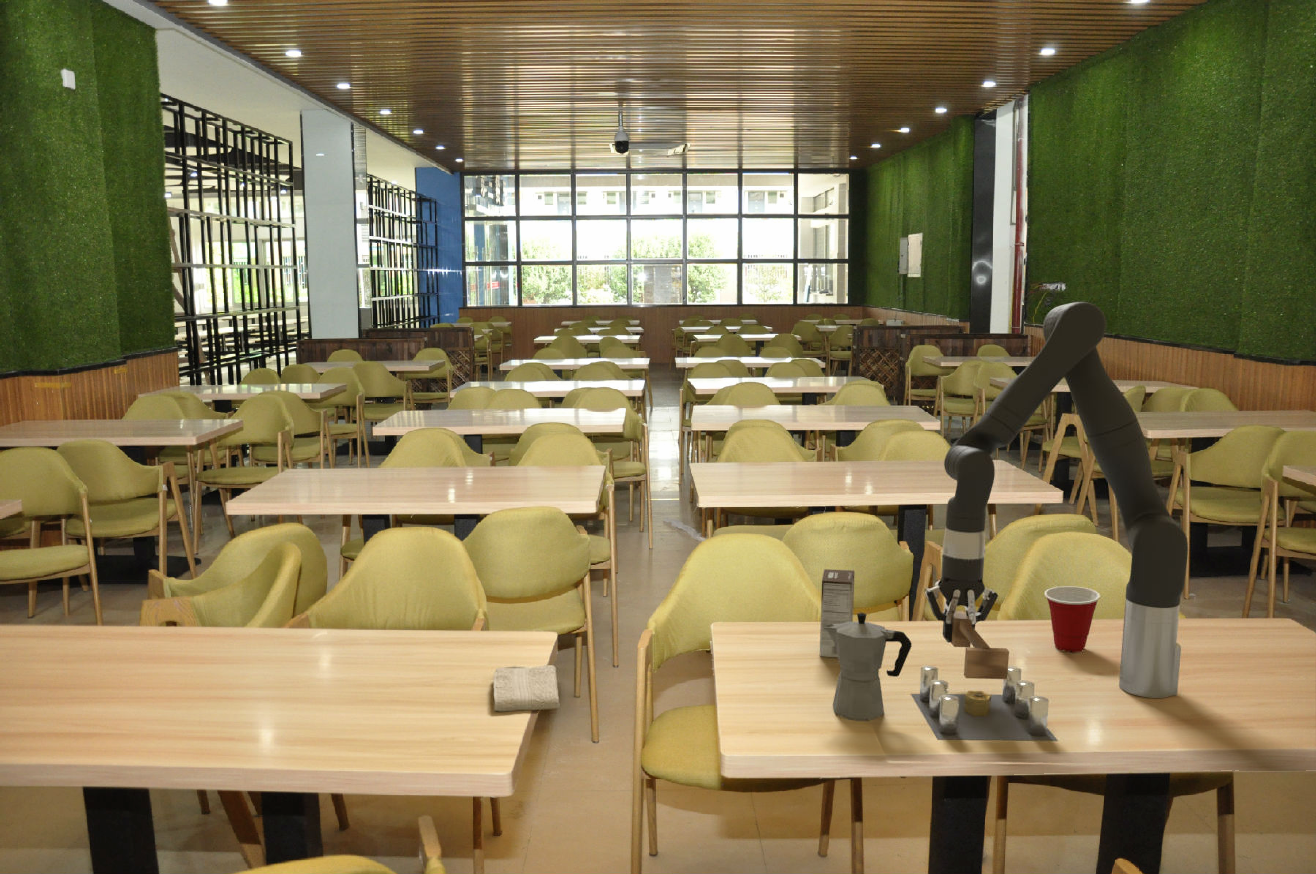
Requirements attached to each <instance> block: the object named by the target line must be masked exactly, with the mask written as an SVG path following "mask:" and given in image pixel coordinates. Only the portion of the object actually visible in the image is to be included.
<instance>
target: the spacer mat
mask: <svg viewBox="0 0 1316 874" xmlns="http://www.w3.org/2000/svg"><path fill="white" fill-rule="evenodd" d="M988 694H989V693H988ZM948 695H953V696H956V697H958V698H959V710H958V729H957V734H956V735H954V736H947V735H943V734H941V733H940V732H939V719H936V718H932V717H930V716H929V703H925V702H922V701H920V693H910V696H911V697H912V698H913V700H914V703H916V706H917V707H918V709H919V710H920V712H921V714H922V715H923V717H924V719H925V721H926V722H927V724H928V726H929V727H930V729H931V732H932V733H933V734H934V736H935V738H936V739H937V740H938V741H939V740H940V741H944V740H945V741H1014V742H1016V741H1021V742H1023V741H1025V742H1026V741H1027V742H1028V741H1029V742H1037V741H1038V742H1045V741H1046V742H1059V740H1058V739H1057V737H1055V735H1054V734H1053V733H1052V732H1051V730H1050V729H1049V728H1048V727H1047V733H1046V736H1043V737H1037V736H1033V735H1030V734H1029V733H1028V720H1023V719H1019V718H1016V717H1015V716H1014V714H1015V704H1008V703H1005V702H1003V701H1002V694H992V693H991V694H989V695H991V709H990V713H989V714H988V716H973V715H971V714H969V713H967V712H965V711H964V707H965V695H966V693H964V694H963V693H948Z"/></svg>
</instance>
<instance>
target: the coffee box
mask: <svg viewBox="0 0 1316 874" xmlns="http://www.w3.org/2000/svg"><path fill="white" fill-rule="evenodd" d="M855 572H856V571H855V570H849V569H831V568H830V569H829V568H828V569H824V570H823V574H822V579H821V595H820V598H821V604H820V629H819V630H820V634H819V637H820V638H819V656H820V657H828V658H838V650H837V647H836V645H835V643H834V642H833V640H832V638H831V636H830V634H829V633H828V631H827V630H826V629H824V628H825V627H826V626H827V625H831V624H842V623H845V622H854V602H855V601H854V597H855V596H854V595H855V574H856V573H855Z"/></svg>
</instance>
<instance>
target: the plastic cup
mask: <svg viewBox="0 0 1316 874" xmlns="http://www.w3.org/2000/svg"><path fill="white" fill-rule="evenodd" d="M1044 596H1045V598H1046V600H1047V603H1048V605H1049V606H1048V607H1049V613H1050V619H1051V620H1050V621H1051V627H1052V628H1051V629H1052V632H1053V642H1054V646H1055V648H1056V649H1057V648H1058V649H1057V650H1059V651H1063V650H1065V651H1064V652H1067V651H1072V652H1071V653H1079V652H1083V651H1084V650H1085V648H1086V646H1087V645H1086V644H1087V639H1088V637H1089V635H1090V630H1091V627H1092V622H1093V618H1094V614H1095V610H1096V607H1097V604H1098V601H1099V599H1101V595H1100V593H1099V591H1096V590H1094V589H1090V588H1087V587H1082V586H1075V585H1074V586H1073V585H1071V586H1070V585H1066V586H1065V585H1062V586H1053V587H1051V588H1047V589H1046V590H1045V591H1044ZM1082 650H1083V651H1082Z"/></svg>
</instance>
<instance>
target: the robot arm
mask: <svg viewBox="0 0 1316 874" xmlns="http://www.w3.org/2000/svg"><path fill="white" fill-rule="evenodd" d="M1106 330H1107V320H1106V317H1105V313H1104V312H1103V311H1102V309H1101V308H1100V307H1099V306H1097V305H1095V304H1094V303H1091V302H1085V301H1076V302H1075V301H1074V302H1071V303H1064V304H1062V305H1058V306H1056V307H1054V308H1053V309H1051V310H1050V311H1049V312H1048V313H1047V314H1046V316H1045V317H1044V320H1043V324H1042V333H1043V339H1044V341H1045V344H1044V345H1043V346H1042V348H1041V350H1040V351H1039V352H1038V353H1037V355H1036V356H1035V357H1034V359H1033V360H1032V361H1030V363H1029V364H1028V365H1027V366H1026V367H1025V368H1024V369H1023V370H1022V371H1021V372H1020V373H1019V374H1018V375H1017V376H1016V377H1015V378H1014V379H1012V380H1011V381H1010V382H1009V383H1008V384H1007V386H1005V387H1004V389H1002V390H1001V392H1000V393H999V394H998V395H997V396H996V397H995V399H994V400H993V401H992V403H991V404H990V405H989V407H987V409H986V411H985V412H984V413H983V415H982V416H980V418H979V420H978V421H977V422H976V423H975V424H974V425H973V426H971V427H970V428H969V429H968V430H966V431H965V432H964V433H963V434H962V435H961V436H960V437H959V438H958V439H957V440H956V441H955V442H954V443H953V444H952V445H951V447H950V448H949V449H948V451H947V452H946V455H945V457H944V462H943V465H944V467H943V468H944V470H945V472H946V475H948V476H949V477H950V478H951V479H953V480H955V481H956V489H955V494H954V496H951V497H950V498H949V499H948V501H947V504H946V513H945V514H946V515H945V530H944V535H943V540H942V555H941V557H942V558H941V571H940V572H941V575H940V579H939V581H938V584H937V585H936V586H934V587H931V588H930V587H926V588H924V594H925V596H926V599H927V601H928V604H929V606H930V609H931V612H932V614H933V616H934V617H935V619H936V621H942V636H943V639H944V640H945V641H946V642H947V643H951V642H952V628H953V624H952V620H953V616H954V613H955V611H957V607H960V606H963V607H964V609H965V611H964V612H965V614H966V615H967V616H968V617H969V618H970V620H971V621H972V627H973V628H974V629H975V630H976V625H977V623H978V622H985V621H986V620H987V619H988V616H989V614H990V612H991V610H992V608H993V606H994V605H995V603H996V601H997V599H998V598H999V595H998V593H997V592H996V591H995V590H994V589H991V588H987V587H985V584H984V580H983V579H984V566H985V554H986V537H985V533H986V532H985V530H986V518H987V517H986V515H987V513H986V511H987V510H986V509H987V506H988V502H989V500H990V496H991V493H992V491H993V486H994V482H995V481H994V480H995V476H996V473H995V472H996V471H995V470H996V468H995V463H994V460H993V457H992V456H991V455H992V454H993V453H994V452H995V451H997V449H999V448H1005V447H1007V446H1009V445H1010V444H1011V443H1012V442H1013V441H1014V439H1015V438H1016V437H1017V436H1018V434H1019V433H1020V432H1021V431H1022V429H1023V428H1024V427H1025V426H1026V424H1027V423H1028V422H1029V420H1030V419H1031V417H1032V416H1033V415H1034V413H1035V412H1037V410H1038V409H1039V407H1040V406H1041V405H1042V403H1044V401H1045V399H1046V398H1048V396H1049V395H1050V393H1052V391H1053V390H1054V389H1055V388H1056V387H1057V385H1058V384H1059V383H1060V382H1061V381H1062V379H1064V380H1065V382H1066V384H1067V386H1068V389H1069V392H1070V396H1071V398H1072V400H1073V403H1074V406H1075V409H1076V412H1077V414H1078V417H1079V419H1080V422H1081V425H1082V427H1083V431H1084V433H1085V435H1086V436H1085V437H1086V438H1087V441H1088V444H1089V446H1090V449H1091V451H1092V454H1093V456H1094V458H1095V460H1096V462H1097V464H1098V467H1099V469H1100V470H1101V472H1102V475H1103V476H1104V478H1105V480H1106V482H1107V483H1108V485H1109V487H1110V488H1111V491H1112V493H1113V495H1114V497H1115V500H1116V503H1117V505H1118V509H1119V512H1120V516H1121V519H1122V522H1123V527H1124V530H1125V535H1126V538H1127V543H1128V546H1129V547H1130V549H1131V565H1130V566H1131V567H1130V575H1129V580H1128V582H1127V583H1126V588H1125V602H1124V611H1123V612H1124V615H1123V625H1122V626H1123V629H1122V643H1121V651H1120V652H1121V653H1120V654H1121V655H1120V664H1119V665H1120V667H1119V668H1120V669H1119V674H1118V675H1119V681H1118V686H1119V687H1120V689H1121V690H1122V691H1124V692H1127V693H1129V694H1132V695H1134V696H1138V697H1142V698H1151V699H1163V698H1167V697H1171V696H1177V695H1178V689H1179V680H1180V679H1179V678H1180V667H1181V655H1182V653H1181V652H1182V646H1181V645H1180V644H1179V643H1178V642H1177V641H1178V628H1179V616H1180V604H1181V596H1182V593H1183V591H1184V588H1185V582H1186V581H1185V580H1186V574H1187V573H1186V572H1187V567H1188V565H1187V564H1188V563H1187V562H1188V554H1189V552H1188V551H1189V545H1188V544H1189V543H1188V538H1187V535H1186V533H1185V531H1184V530H1183V529H1182V527H1181V526H1180V525H1179V524H1178V523H1177V522H1176V521H1175V519H1174V518H1173V517H1172V516H1171V514H1170V512H1169V510H1168V509H1167V507H1166V505H1165V502H1164V501H1163V499H1162V497H1161V495H1160V493H1159V492H1160V491H1159V490H1158V488H1157V486H1156V482H1155V480H1154V475H1153V474H1154V473H1153V470H1152V469H1153V468H1152V463H1151V458H1150V457H1151V456H1150V453H1149V449H1148V445H1147V442H1146V438H1145V435H1144V433H1143V430H1142V427H1141V424H1140V423H1139V420H1138V417H1137V415H1136V412H1135V411H1134V409H1133V407H1132V405H1131V404H1130V403H1129V401H1128V399H1127V398H1126V396H1125V395H1124V394H1123V392H1122V391H1121V390H1120V389H1119V387H1118V386H1117V385H1116V383H1115V382H1114V381H1113V379H1112V378H1111V377H1110V375H1109V374H1108V373H1107V370H1106V368H1105V367H1104V364H1103V362H1102V360H1101V359H1102V358H1101V357H1100V354H1099V351H1098V348H1097V346H1098V345H1099V344H1100V343H1101V342H1102V340H1103V338H1104V337H1105V335H1106ZM939 593H941V595H942V596H943V597H944V598H945V601H944V610H943V611H941V608H940V607H939V603H938V601H937V600H938V599H939V597H940V596H939ZM981 595H982V598H983V599H982V601H981V603H980V605H979V607H978V609H977V610H976V602H977V600H978V599H979V598H980V597H981ZM951 644H952V643H951Z"/></svg>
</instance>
